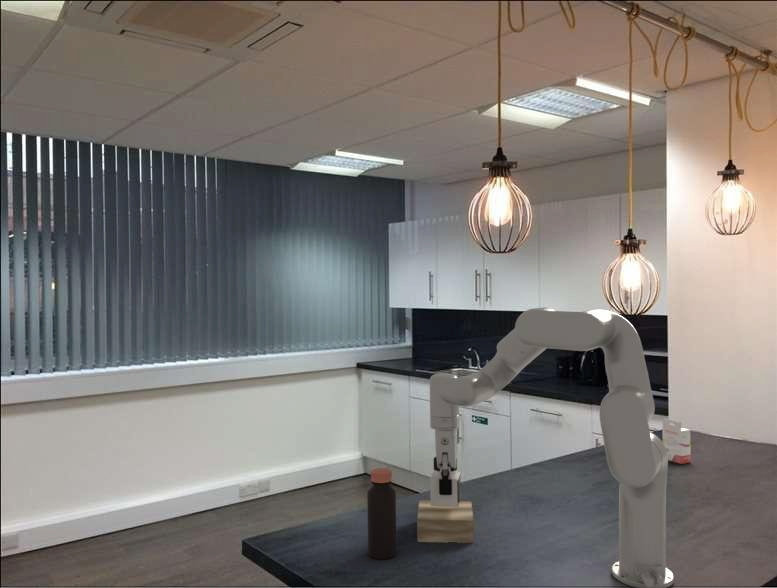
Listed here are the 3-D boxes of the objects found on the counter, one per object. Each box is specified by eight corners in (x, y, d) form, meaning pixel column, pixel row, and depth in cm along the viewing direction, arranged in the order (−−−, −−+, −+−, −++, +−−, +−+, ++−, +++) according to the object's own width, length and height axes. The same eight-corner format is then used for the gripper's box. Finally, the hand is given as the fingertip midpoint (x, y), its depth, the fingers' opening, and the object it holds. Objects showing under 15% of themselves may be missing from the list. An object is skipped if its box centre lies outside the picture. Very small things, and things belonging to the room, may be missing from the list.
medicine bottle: (458, 507, 164) (457, 460, 164) (430, 506, 165) (429, 459, 165) (460, 498, 171) (460, 453, 171) (434, 497, 172) (433, 452, 172)
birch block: (473, 544, 161) (473, 520, 161) (417, 543, 162) (417, 519, 162) (471, 523, 175) (471, 501, 175) (419, 522, 176) (419, 500, 176)
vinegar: (380, 545, 160) (379, 465, 159) (402, 553, 155) (401, 470, 155) (362, 555, 154) (361, 471, 154) (384, 562, 150) (383, 477, 150)
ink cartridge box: (691, 462, 229) (691, 421, 228) (681, 464, 227) (681, 422, 226) (671, 456, 236) (671, 416, 236) (661, 458, 234) (661, 418, 234)
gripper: (459, 429, 159) (460, 501, 159) (458, 414, 176) (459, 479, 176) (429, 429, 159) (430, 500, 160) (431, 414, 177) (432, 479, 177)
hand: (445, 489), depth 168 cm, fingers closed on medicine bottle, 7 cm apart
